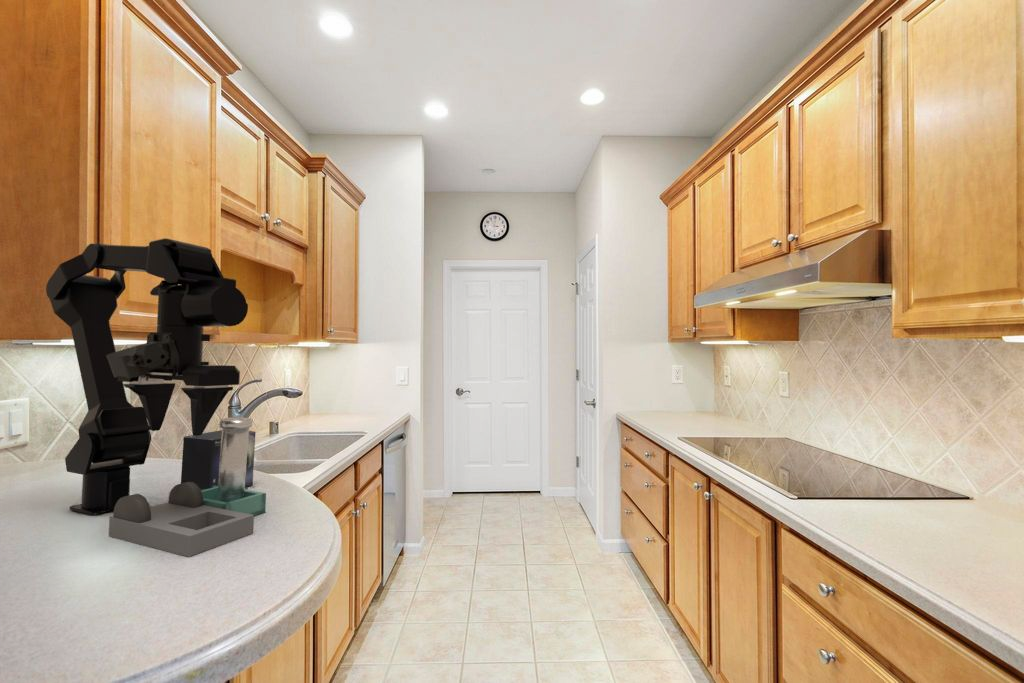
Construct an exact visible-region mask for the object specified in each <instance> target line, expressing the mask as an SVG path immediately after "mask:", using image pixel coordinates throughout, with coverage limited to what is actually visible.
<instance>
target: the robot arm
mask: <svg viewBox="0 0 1024 683" xmlns="http://www.w3.org/2000/svg"><path fill="white" fill-rule="evenodd" d="M95 268H96V269H99V270H106V271H114V274H113V275H112V276H111V277H110V279H109V278H107V277H102V276H96V275H95V276H94V275H89V273H91V272H93V271H94V270H95ZM127 271H129V272H139V273H140V272H142V273H147V274H149V275H152V276H155V277H158V278H161V279H163V280H161V281H160V283H159V284H158V285H156V286H155V287H153V288H152V289H151V290H150V292H149V293H150V295H151V296H155V297H158V298H157V300H158V302H157V320H156V322H157V323H156V332H149V334H148V335H147V337H146V343H142V344H139V345H135V346H131V347H128V348H124V349H120V350H116V346H115V341H114V337H113V333H112V328H111V324H110V320H111V318H112V317H113V315H114V314H115V312H116V310H117V308H118V299H119V298H120V297H121V295H122V294H123V292H124V291H125V290H126V282H125V274H126V272H127ZM87 274H88V275H87ZM45 292H46V296H47V298H48V299H49V302H50V304H51V307H52V311H53V313H54V314H55V315H56V316H57V317H58V318H59V319H60V320H61V321H63V322H64V323H65V324H66V325H67V326H68V327H69V328H70V330H71V335H72V340H73V344H74V349H75V353H76V359H77V364H78V369H79V371H80V372H79V373H80V376H81V381H82V386H83V391H84V396H85V399H86V400H85V401H86V405H87V412H86V414H85V416H84V418H83V420H82V421H81V424H80V425H79V428H78V439H77V441H76V442H75V444H74V445H73V447H72V448H71V449H70V451H68V453H67V455H66V456H65V458H64V461H65V468H66V469H65V470H66V472H68V473H73V474H77V475H82V483H81V484H82V485H81V503H78V504H73V505H70V506H69V510H70V511H75V512H79V513H82V514H86V515H91V516H93V515H99V514H103V513H108V512H111V511H112V512H113V511H114V507H115V505H116V503H117V501H118V500H119V499H120V498H122V497H125V496H129V495H130V484H131V478H130V477H131V467H132V466H138V465H139V466H141V465H145V463H146V460H147V456H148V453H149V448H150V445H151V442H152V433H151V431H152V432H158V431H160V430H161V428H162V425H163V423H164V420H165V417H166V414H167V411H168V408H169V405H170V403H171V402H170V401H171V399H172V396H173V393H174V389H175V386H176V383H174V382H171V381H183V383H184V385H185V386H186V387H181V388H180V389H181V391H182V392H183V393H184V394H185V395H186V396H187V397H188V398H189V401H190V402H189V403H190V420H191V421H190V422H191V431H192V435H194V436H199V435H202V433H205V430H206V428H207V426H208V424H209V423H210V421H211V419H213V416H214V414H215V413H216V411H217V410H218V408H219V406H220V405H221V403H222V402H223V400H224V398H225V397H226V396H227V394H228V393H229V392H230V391H233V390H234V386H239V385H240V383H241V381H240V380H241V371H240V370H239V369H238V368H237V366H236V365H225V364H220V365H219V364H210V362H209V361H203V353H204V352H203V351H204V350H203V349H204V342H210V341H211V334H204V331H205V330H204V327H236V326H238V325H240V324H241V323H243V321H244V320H245V319H246V317H247V315H248V310H249V304H248V303H247V300H246V298H245V295H244V294H243V292H242V291H241V290H240V289H238V288H237V280H236V279H234V278H228V277H224V275H223V274H222V271H221V269H220V267H219V265H218V263H217V262H216V259H215V258H214V257H213V254H212V250H211V249H210V248H209V247H206V246H201V245H197V244H193V243H189V242H183V241H180V240H175V239H170V238H161V239H156V240H151V241H150V242H149V243H148V245H143V246H141V245H140V246H139V245H118V244H117V245H116V244H105V243H100V242H96V243H89V244H88V245H87V246H86V247H85V249H84V250H83V252H82V253H81V254H78V255H76V256H74V257H72V258H70V259H68V260H65V261H64V262H62V263H60V264H59V265H58V267H57V268H56V269H55V270H54V272H53V273H52V275H51V276H50V278H49V279H48V281H47V283H46V287H45ZM164 381H167V382H164ZM168 381H170V382H168ZM124 382H125V383H124ZM187 386H188V387H187ZM189 386H190V387H189ZM125 388H128V389H129V390H131V392H134V394H136V395H137V396H138V398H139V400H140V403H141V405H142V406H135V407H134V405H132V404H131V403H130V402H129V401H128V398H127V393H126V389H125Z"/></svg>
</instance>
